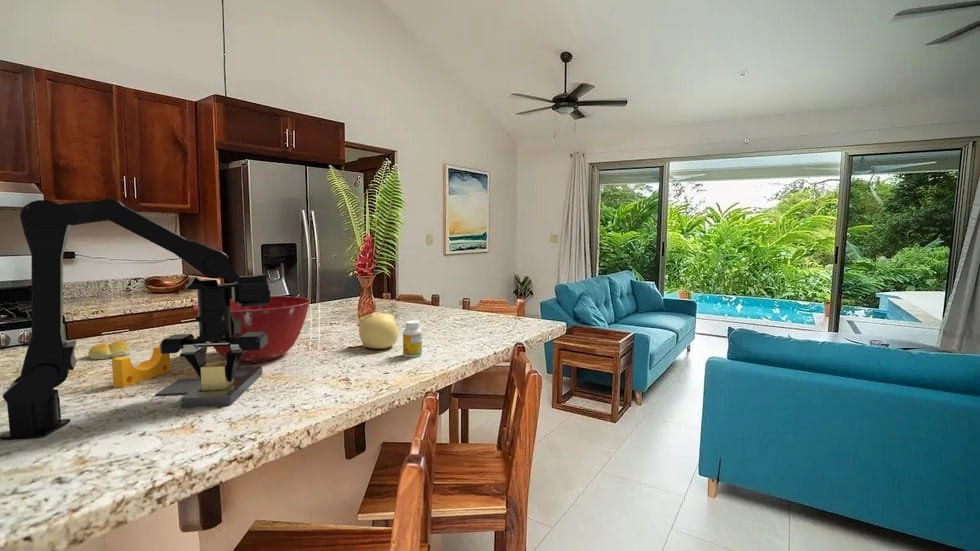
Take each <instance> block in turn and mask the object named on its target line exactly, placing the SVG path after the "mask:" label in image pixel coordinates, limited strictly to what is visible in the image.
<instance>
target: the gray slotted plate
mask: <svg viewBox="0 0 980 551" xmlns="http://www.w3.org/2000/svg"><path fill="white" fill-rule="evenodd" d="M262 375H263V366H261V365H260V366H239V367H238V366H237V368H236V371H235V374H234V386H232V387H231V388H230V389H229V390H228V391H211V392H202V385H201V384H199V385H198V386H197V387H195V388H194V389H193V390H191V391H190V392H189V393H187V394H184V395H182V397H180V408H181V409H188V408H189V409H190V408H207V407H222V406H223V407H225V406H226V407H228V406H232V405H233V404H234V403H235V402H236V401H237V400H238V399H239V398H240V397H241V396H242V395H243V394H244V393H245V392H246V391H247V390H248V389H250V388H251V386H252V385H253V384H254V383H255V382H256V381H257V380H259V379H260V378H261V376H262Z"/></svg>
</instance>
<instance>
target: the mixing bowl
mask: <svg viewBox="0 0 980 551" xmlns="http://www.w3.org/2000/svg"><path fill="white" fill-rule="evenodd" d="M310 303H311V299H309V298H306V297H301V296H283V295H281V296H277V295H275V296H274V295H273V296H271V295H270V303H269V304H268V305H259V306H247V307H239V305H238V302H237V303H233V300H232V298H230V311H233V318H234V319H237V320H239V321H241V332H240V335H236V336H235V335H232V337H241V336H242V335H244V334H246V333H247V332H265V333H266V334H267V337H268V344H267V345H265V346H264V347H263V348H262V349H260V350H250V351H246V352H245V353H243V354H242V356H241V358H240V360H239V362H238V363H240V364H241V363H245V364H246V363H259V362H266V361H270V360H274V359H278V358H279V357H281V356H284V354H286V353H287V352H289V350H291V348H292V347H293V346H294V345H295V344H296V342H297V340H298V338H299V335H300V334H301V331H302V329H303V326H304V323H305V320H306V317H307V315H308V314H307V313H308V309H309V306H310V305H309V304H310ZM193 309H194V310H195V311H196V315H197V316H198V304H195V305H194V306H193ZM219 342H220V341H219ZM221 342H222V341H221ZM223 342H224V341H223ZM225 342H226V341H225ZM210 343H211V342H210ZM212 343H213V342H212ZM213 348H214V350H215V351H216V352H217V353H218V354H219V355H220V356H222V358H225V359H227V358H226V353H227V352H229V351H230V350H231V346H216V347H213Z"/></svg>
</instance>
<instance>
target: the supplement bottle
mask: <svg viewBox="0 0 980 551" xmlns="http://www.w3.org/2000/svg"><path fill="white" fill-rule="evenodd" d="M404 326H405V328H404V329H403V331H402V355H403V356H404V357H405V358H416V357H417V358H418V357H421V356H423V331H422V329H421V328H420V321H419V320H407V321H405V325H404Z"/></svg>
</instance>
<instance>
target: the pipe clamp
mask: <svg viewBox="0 0 980 551" xmlns="http://www.w3.org/2000/svg"><path fill="white" fill-rule="evenodd" d="M152 348H153V349H152V354H151V357H150V358H149V359H148V360H144V361H141V362H140V363H139V364H138V365H137V366H134V365H133V363H132V361H131V357H130V356H129V357H127V356H123V357H118V358H111V366H112V367H111V368H112V380H113V382H112V383H113V387H114V386H118V387H117V388H126V387H128V385H129V386H132V385H134V383H135V384H137V382H138V383H141V382H143V381H142V380H144V381H145V379H146V380H149V379H151V377H152V378H155V377H158V376H161V375H163V373H164V374H166V373H165V372H167V373H169V372H168V371H170V372H171V370H172V369H171V353H166V354H162V353H160V345H158V346H155V347H152ZM160 374H161V375H160ZM157 375H158V376H157ZM154 376H155V377H154ZM148 378H149V379H148ZM140 381H141V382H140ZM131 384H132V385H131ZM125 386H126V387H125Z"/></svg>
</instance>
